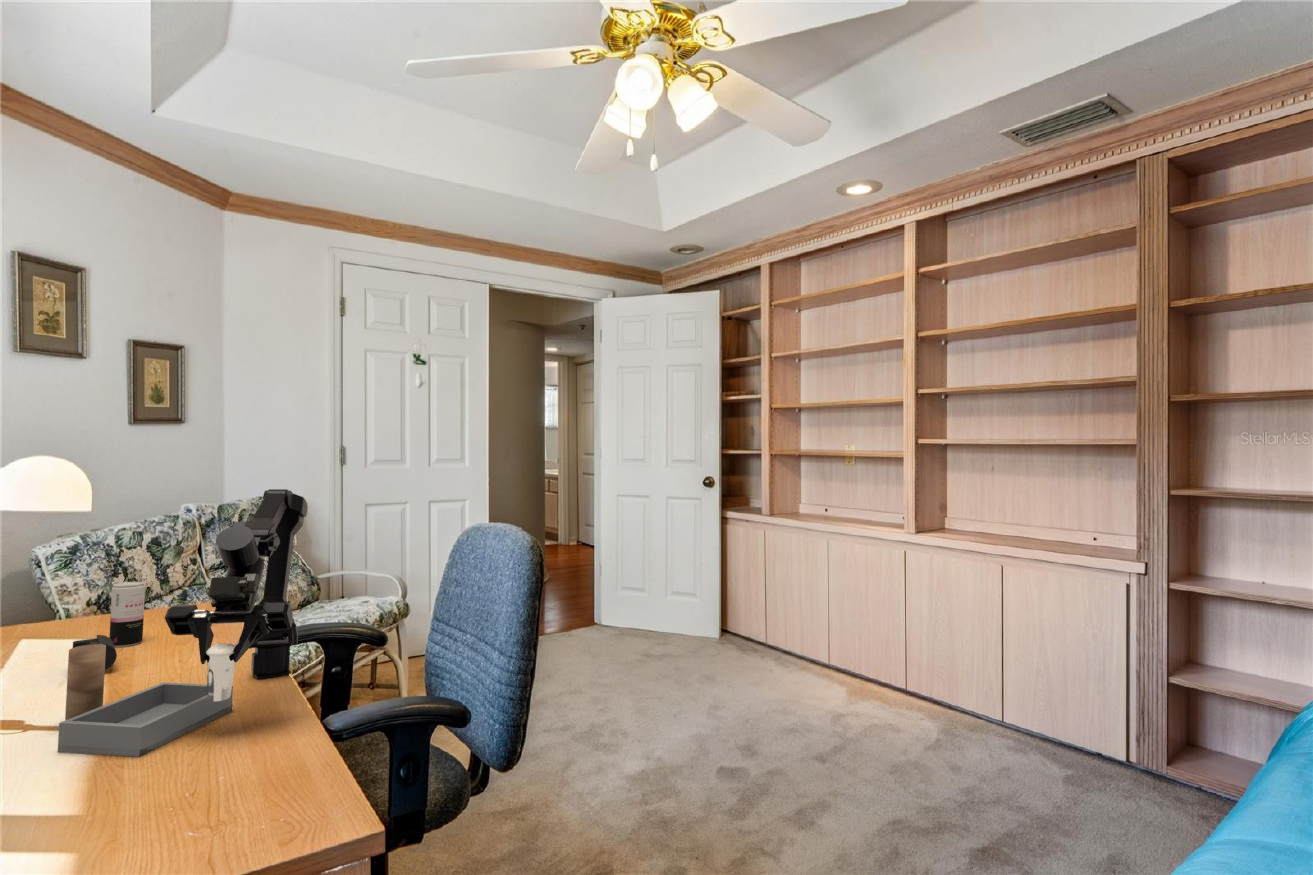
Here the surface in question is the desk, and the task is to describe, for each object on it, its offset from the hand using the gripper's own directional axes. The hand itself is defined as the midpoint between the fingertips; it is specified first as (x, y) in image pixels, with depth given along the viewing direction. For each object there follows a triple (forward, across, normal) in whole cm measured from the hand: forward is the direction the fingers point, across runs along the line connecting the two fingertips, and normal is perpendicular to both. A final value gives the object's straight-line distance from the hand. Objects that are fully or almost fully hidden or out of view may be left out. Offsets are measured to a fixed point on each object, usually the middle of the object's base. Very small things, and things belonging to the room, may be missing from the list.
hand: (218, 662), depth 112 cm
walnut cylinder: (0, -24, +18) cm, 30 cm away
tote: (+4, -12, +14) cm, 18 cm away
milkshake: (+4, 0, +6) cm, 7 cm away
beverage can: (-39, -40, +58) cm, 81 cm away
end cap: (-23, -37, +42) cm, 61 cm away
